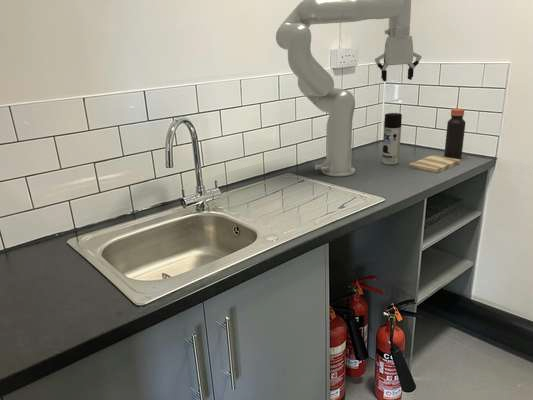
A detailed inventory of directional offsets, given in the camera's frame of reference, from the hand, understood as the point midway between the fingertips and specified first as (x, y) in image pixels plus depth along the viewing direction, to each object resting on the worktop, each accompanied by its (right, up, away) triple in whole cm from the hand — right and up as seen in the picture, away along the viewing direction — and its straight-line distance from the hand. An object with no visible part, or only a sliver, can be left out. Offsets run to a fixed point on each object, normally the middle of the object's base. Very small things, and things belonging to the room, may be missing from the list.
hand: (397, 80), depth 168 cm
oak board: (+17, -32, +6) cm, 37 cm away
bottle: (+28, -28, +16) cm, 43 cm away
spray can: (+1, -31, +12) cm, 33 cm away
